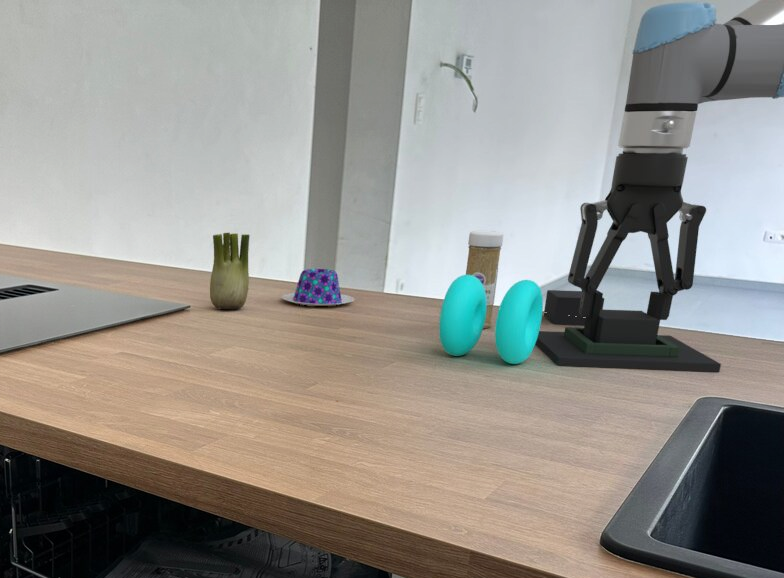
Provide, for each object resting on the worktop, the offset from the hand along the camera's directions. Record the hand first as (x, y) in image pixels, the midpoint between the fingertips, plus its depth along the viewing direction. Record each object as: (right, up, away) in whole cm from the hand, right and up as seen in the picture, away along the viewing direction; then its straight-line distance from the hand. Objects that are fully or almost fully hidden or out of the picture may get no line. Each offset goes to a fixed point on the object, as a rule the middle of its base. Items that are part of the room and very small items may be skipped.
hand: (617, 343), depth 109 cm
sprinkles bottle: (-12, +4, +17) cm, 21 cm away
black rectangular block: (0, 0, 0) cm, 0 cm away
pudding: (-33, +11, +35) cm, 49 cm away
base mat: (0, -1, 0) cm, 1 cm away
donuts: (-18, -2, -3) cm, 18 cm away
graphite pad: (+4, +6, +21) cm, 22 cm away
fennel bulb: (-48, +9, +29) cm, 56 cm away
